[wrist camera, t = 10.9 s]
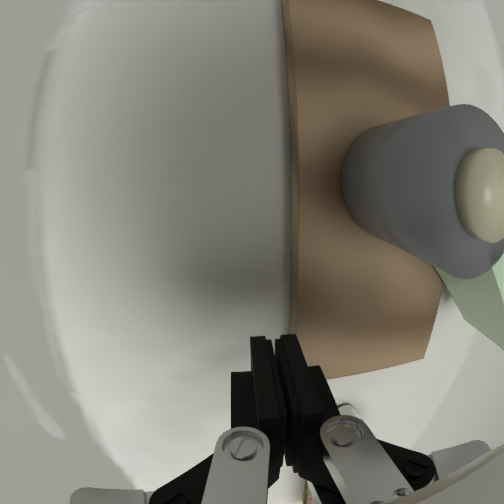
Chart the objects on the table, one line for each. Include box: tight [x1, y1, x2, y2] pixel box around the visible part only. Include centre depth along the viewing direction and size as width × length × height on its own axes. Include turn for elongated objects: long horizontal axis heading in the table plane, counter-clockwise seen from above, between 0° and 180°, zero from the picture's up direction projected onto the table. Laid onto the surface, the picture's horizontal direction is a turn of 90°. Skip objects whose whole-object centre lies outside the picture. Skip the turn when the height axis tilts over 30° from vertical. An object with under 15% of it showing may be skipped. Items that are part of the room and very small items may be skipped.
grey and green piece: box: [341, 104, 504, 350], centre depth 10 cm, size 15×6×7 cm, turn 47°
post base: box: [281, 0, 450, 379], centre depth 14 cm, size 24×10×2 cm, turn 1°
